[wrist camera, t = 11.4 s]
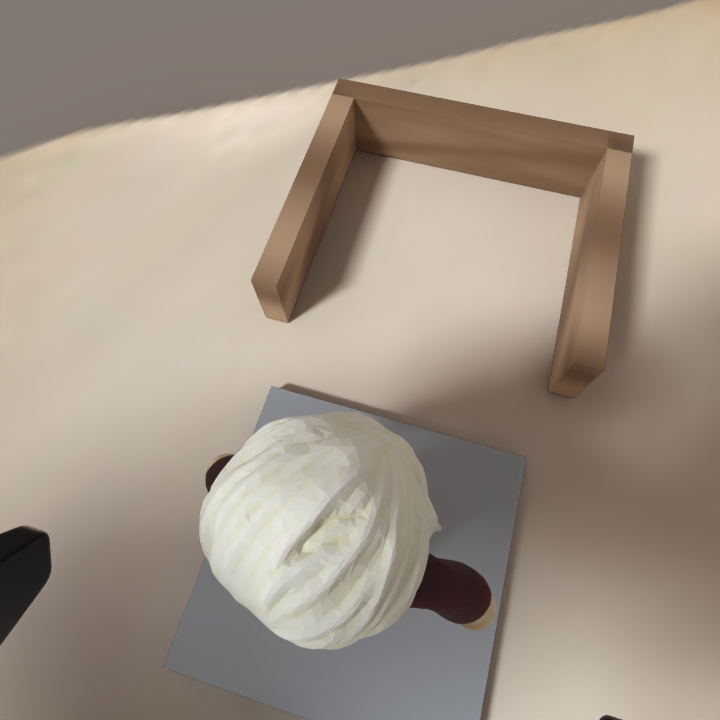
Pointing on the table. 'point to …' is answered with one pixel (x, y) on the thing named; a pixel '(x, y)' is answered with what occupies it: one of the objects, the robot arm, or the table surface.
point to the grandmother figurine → (332, 533)
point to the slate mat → (397, 642)
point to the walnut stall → (478, 157)
